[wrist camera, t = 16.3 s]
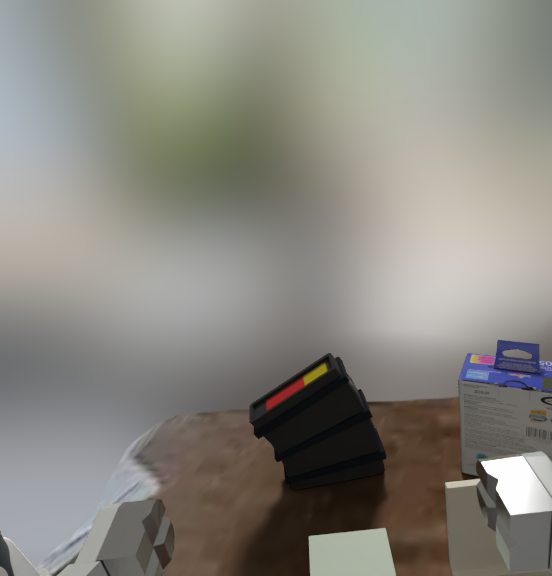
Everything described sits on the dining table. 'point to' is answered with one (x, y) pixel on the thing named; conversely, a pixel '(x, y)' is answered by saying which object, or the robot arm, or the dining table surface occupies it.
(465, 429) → the ink cartridge box
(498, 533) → the robot arm
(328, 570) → the box
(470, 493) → the carton
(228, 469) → the dining table surface
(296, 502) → the dining table surface
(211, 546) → the dining table surface
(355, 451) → the magazine
